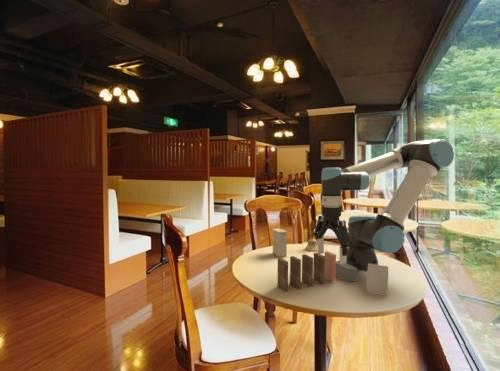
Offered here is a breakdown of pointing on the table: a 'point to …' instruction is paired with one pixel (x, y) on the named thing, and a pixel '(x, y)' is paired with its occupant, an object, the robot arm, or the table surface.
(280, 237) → the supplement box
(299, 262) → the walnut tile
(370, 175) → the robot arm
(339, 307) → the table surface
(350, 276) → the block
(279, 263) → the walnut tile
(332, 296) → the table surface
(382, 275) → the beige boxy piece
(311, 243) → the hand bell
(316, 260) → the walnut tile
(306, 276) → the walnut tile
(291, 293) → the table surface
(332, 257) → the terracotta tile
